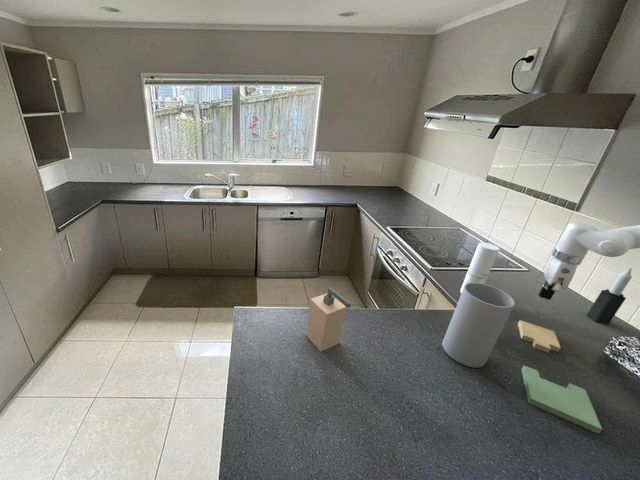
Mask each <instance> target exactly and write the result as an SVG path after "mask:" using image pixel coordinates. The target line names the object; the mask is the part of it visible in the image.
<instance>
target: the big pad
mask: <svg viewBox="0 0 640 480" xmlns="http://www.w3.org/2000/svg"><path fill="white" fill-rule="evenodd" d="M521 375H522V379H523V384H524V389H525V393H526V397H527V403H528V404H530V405H532V406H534V407H537V408H539V409H541V410H543V411H545V412H548V413H550V414H552V415H554V416H557V417H559V418H561V419H563V418H564V420H566V421H568V420H569V421H568V422H570V421H571V422H570V423H572V422H573V423H572V424H574V425H577V424H578V425H577V426H579V425H580V426H579V427H581V426H582V428H584V429H586V430H588V429H589V431H590V430H591V431H590V432H593V433H595V434H597V433H598V434H597V435H599V434H600V433H601V432H602V431H603V428H602V425H601V423H600V421H599V418H598V416H597V414H596V411H595V409H594V406H593V404H592V402H591V399H590V397H589V394H588V393H587V389H586V388H582V387H580V386H578V385H575V384H573V383H568V384H567V385H566V387H564V386H562V385H559V384H557V383H555V382H552V381H550V380H547V379H545V378H542V377H541V375H540V373H539V370H537V369H535V368H532V367H530V366H527V365H523V366H522V368H521Z"/></svg>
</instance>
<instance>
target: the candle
mask: <svg viewBox="0 0 640 480" xmlns="http://www.w3.org/2000/svg"><path fill="white" fill-rule="evenodd" d="M632 270H633V268H632V267H628V269H626V270H625V271H624V272H620V273H619V274H618V276H617V278H616V279H615V281H614V282H613V284H612V285H611V287H610V289H608V288H607V289H602V290H601V291H600V293H599V294H598V296H597V297H596V299H595V300H594V302H593V304H592V305H591V307H590V308H589V310H588V312H587V313H586V316H587V317H588V318H589V319H591V320H592V321H593V322H595V323H597V324H605V325H609V324H610V323H611V322H612V320H613V319H614V317H615V316H616V314H617V313H618V312H619V309H621V306H622V305H623V304H624V302H625V301H626V299H627V298H626V297H625V296H624V294H623V292H624V290H625V289H626V287H627V285H628V284H629V282H630V281H631V279H632V278H633V276H632Z"/></svg>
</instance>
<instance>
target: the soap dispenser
mask: <svg viewBox="0 0 640 480" xmlns="http://www.w3.org/2000/svg"><path fill="white" fill-rule="evenodd" d="M351 305H352V303H351V302H350V300H348V299H346V298H345V297H344V296H343V295H341V294H340V293H339V292H338V291H337V290H335V289H334V288H333V287H328V289H327V293H324V294H321V295H317V296H315V297H312V298H310V302H309V307H308V315H307V322H306V330H305V336H306V337H307V338H308V339H309V341H311V343H312V344H313V345H314V347H316V348H317V350H318V351H319V352H320V353H321V352H323V351H326V350H328V349H330V348H333V347H334V346H337V345H338V344H340V341H341V337H342V332H343V327H344V321H345V316H346V311H347V309H349V308H351Z"/></svg>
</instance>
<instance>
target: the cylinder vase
mask: <svg viewBox="0 0 640 480" xmlns="http://www.w3.org/2000/svg"><path fill="white" fill-rule="evenodd" d="M515 304H516V303H515V300H514V299H513V297H512V296H510V295H509V294H508V293H506V292H505V291H503V290H501V289H499V288H497V287H495V286H492V285H489V284H486V283H485V284H482V283H467V284H465V286H464V289H463V291H462V294H461V293H460V297H459V299H458V301H457V305H456V306H455V309H454V312H453V314H452V317H451V318H450V319H451V320H450V321H449V324H448V327H447V329H446V332H445V335H444V338H443V340H442V348H443V350H444V352H445V353H446V354H447V355H448V356H449V357H450V358H451V359H452V360H454V361H455V362H456V363H459V364H461V365H463V366H466V367H469V368H482V367H485V364H486V363H487V361H488V359H489V357H490V355H491V353H492V351H493V349H494V347H495V345H496V343H497V341H498V339H499V336H500V335H501V332H502V330H503V329H504V326H505V324H506V322H507V320H508V318H509V317H510V314H511V313H512V310H513V309H514V306H515Z"/></svg>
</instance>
